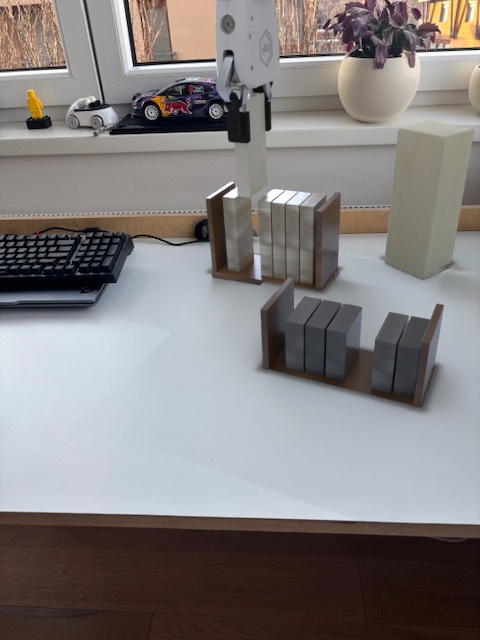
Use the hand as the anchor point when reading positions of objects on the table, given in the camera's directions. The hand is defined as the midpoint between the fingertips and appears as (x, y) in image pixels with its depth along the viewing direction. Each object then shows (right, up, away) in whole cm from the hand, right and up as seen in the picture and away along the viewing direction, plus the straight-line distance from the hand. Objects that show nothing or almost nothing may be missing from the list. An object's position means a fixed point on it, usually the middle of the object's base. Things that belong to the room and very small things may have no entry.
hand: (250, 134), depth 76 cm
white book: (0, -7, +4) cm, 8 cm away
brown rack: (+4, -19, +10) cm, 22 cm away
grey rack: (+11, -32, -12) cm, 36 cm away
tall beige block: (+27, -17, +10) cm, 33 cm away
